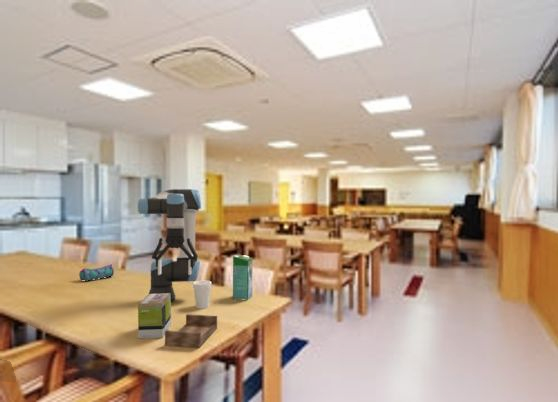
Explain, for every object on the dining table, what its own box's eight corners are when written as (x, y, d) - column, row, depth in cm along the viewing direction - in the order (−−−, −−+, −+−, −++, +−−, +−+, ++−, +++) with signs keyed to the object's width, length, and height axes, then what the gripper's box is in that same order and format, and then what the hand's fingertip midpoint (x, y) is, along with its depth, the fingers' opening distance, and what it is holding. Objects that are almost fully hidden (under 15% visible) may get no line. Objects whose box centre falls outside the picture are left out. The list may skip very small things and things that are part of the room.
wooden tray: (165, 345, 129) (165, 331, 129) (187, 326, 149) (187, 314, 149) (199, 348, 126) (199, 333, 127) (217, 328, 147) (217, 315, 147)
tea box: (148, 325, 150) (149, 292, 150) (171, 325, 151) (171, 292, 151) (137, 339, 135) (137, 302, 135) (162, 338, 136) (162, 302, 136)
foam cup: (214, 305, 180) (214, 281, 180) (205, 310, 171) (205, 285, 171) (199, 303, 183) (199, 279, 183) (189, 308, 174) (189, 283, 175)
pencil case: (84, 283, 229) (84, 269, 229) (78, 281, 234) (79, 267, 235) (114, 277, 246) (114, 264, 246) (108, 276, 251) (108, 263, 251)
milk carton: (247, 300, 189) (248, 256, 189) (232, 299, 191) (233, 256, 191) (252, 296, 198) (252, 254, 198) (237, 295, 200) (238, 253, 200)
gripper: (144, 227, 147) (143, 276, 146) (201, 227, 147) (200, 275, 147) (150, 227, 154) (150, 272, 154) (204, 227, 155) (204, 272, 155)
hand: (174, 274), depth 150 cm, fingers open, 13 cm apart
